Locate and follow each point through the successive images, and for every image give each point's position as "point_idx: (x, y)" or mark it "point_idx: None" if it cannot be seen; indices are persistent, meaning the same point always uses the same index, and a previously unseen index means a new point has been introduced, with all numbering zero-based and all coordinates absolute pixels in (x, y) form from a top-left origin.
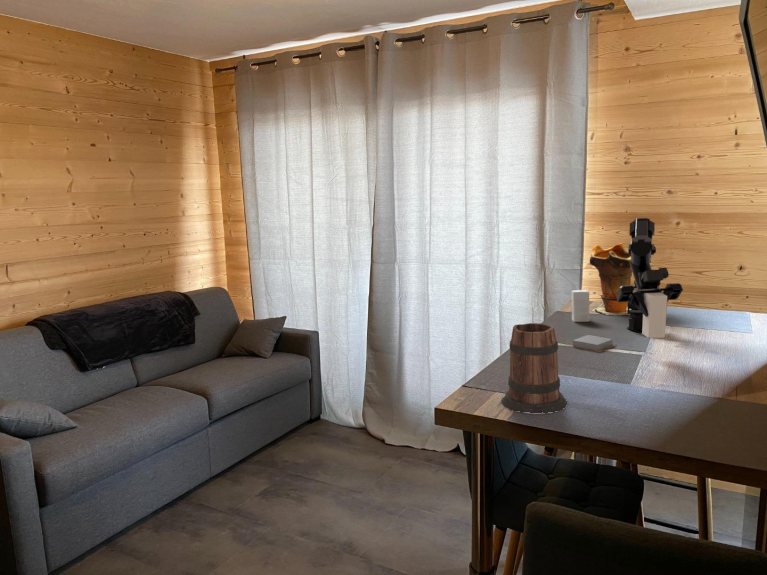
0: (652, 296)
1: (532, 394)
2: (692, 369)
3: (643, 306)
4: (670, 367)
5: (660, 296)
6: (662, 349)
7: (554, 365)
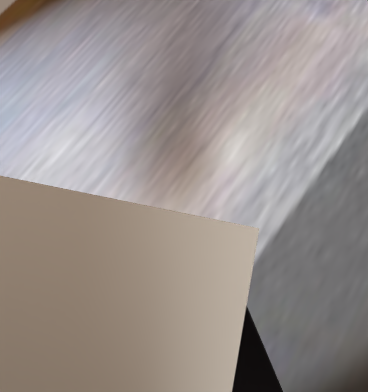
0: (210, 219)
1: None
2: (143, 105)
3: (262, 370)
4: (197, 145)
5: (39, 185)
6: None
7: None
